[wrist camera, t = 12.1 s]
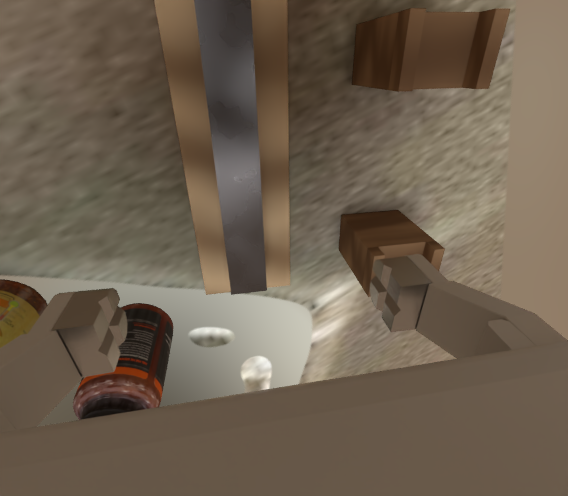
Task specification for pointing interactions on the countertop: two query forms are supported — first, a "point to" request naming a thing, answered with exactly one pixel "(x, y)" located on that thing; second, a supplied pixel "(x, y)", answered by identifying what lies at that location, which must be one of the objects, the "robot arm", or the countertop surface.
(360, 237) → the post
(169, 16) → the wooden plank
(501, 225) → the countertop surface
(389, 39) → the post
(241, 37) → the rail
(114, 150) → the countertop surface
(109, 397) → the supplement bottle
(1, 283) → the sauce bottle
